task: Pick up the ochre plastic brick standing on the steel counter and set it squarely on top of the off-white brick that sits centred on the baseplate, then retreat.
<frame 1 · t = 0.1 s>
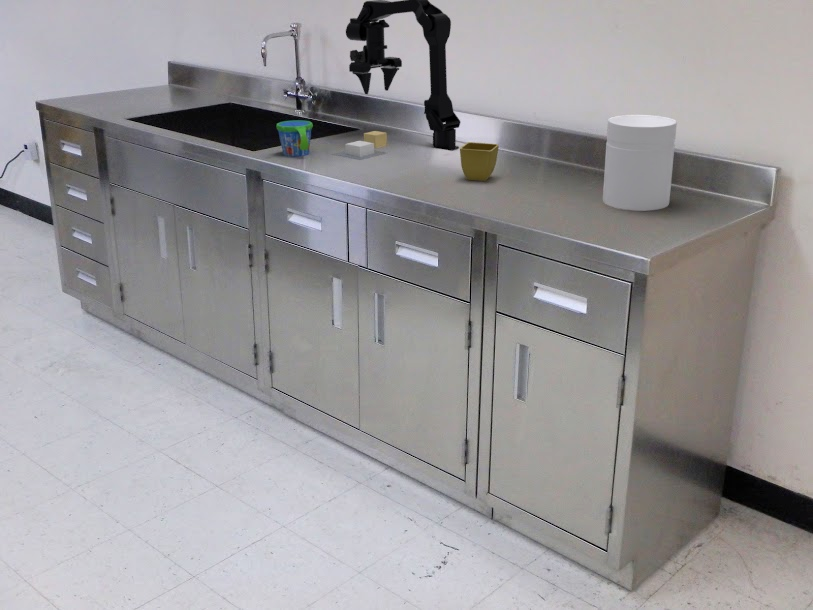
hand: (376, 92, 303), 15 cm above the table, tool pointing down, fingers open, 9 cm apart
white brick: (359, 153, 283), point 1 cm above the table, touching baseplate
flower pot: (478, 179, 256), on the table
canister: (635, 202, 233), on the table
snack cup: (296, 157, 284), on the table
ochre brick: (375, 149, 293), on the table
baseplate: (360, 156, 283), on the table
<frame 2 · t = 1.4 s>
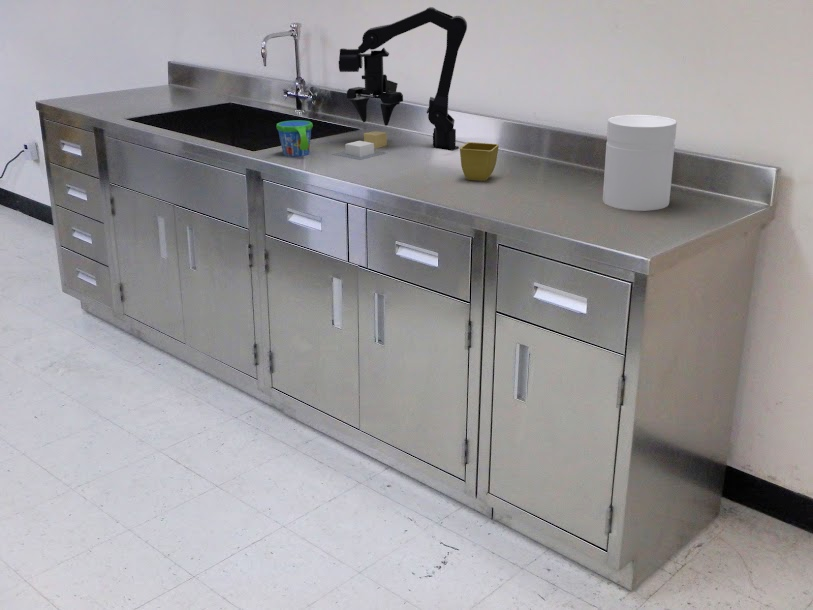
hand: (375, 123, 290), 8 cm above the table, tool pointing down, fingers open, 9 cm apart
nothing on the table moved.
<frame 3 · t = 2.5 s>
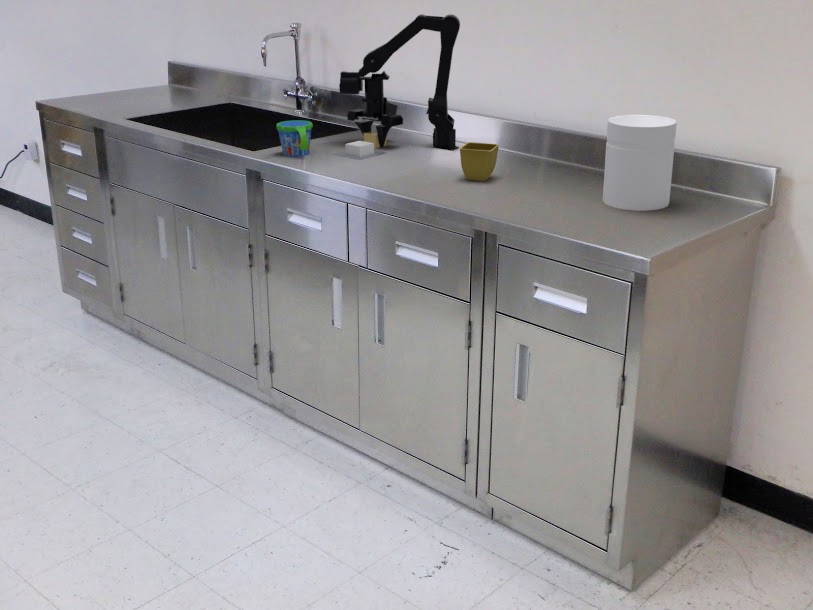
hand: (375, 145, 293), 1 cm above the table, tool pointing down, fingers closed on ochre brick, 5 cm apart
ochre brick: (375, 148, 293), on the table, touching gripper
everything else where it was.
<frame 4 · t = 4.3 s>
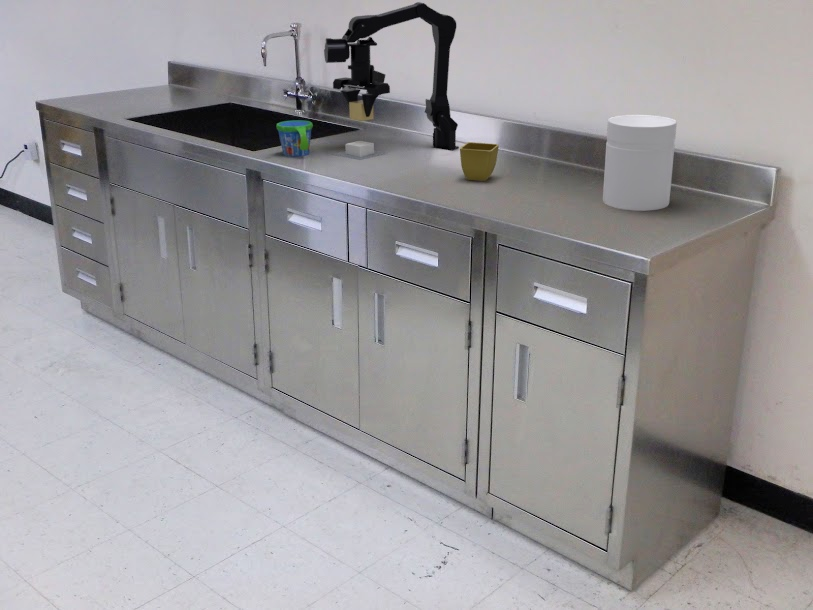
hand: (361, 115, 281), 12 cm above the table, tool pointing down, fingers closed on ochre brick, 5 cm apart
ochre brick: (361, 119, 281), point 11 cm above the table, touching gripper
everything else where it was.
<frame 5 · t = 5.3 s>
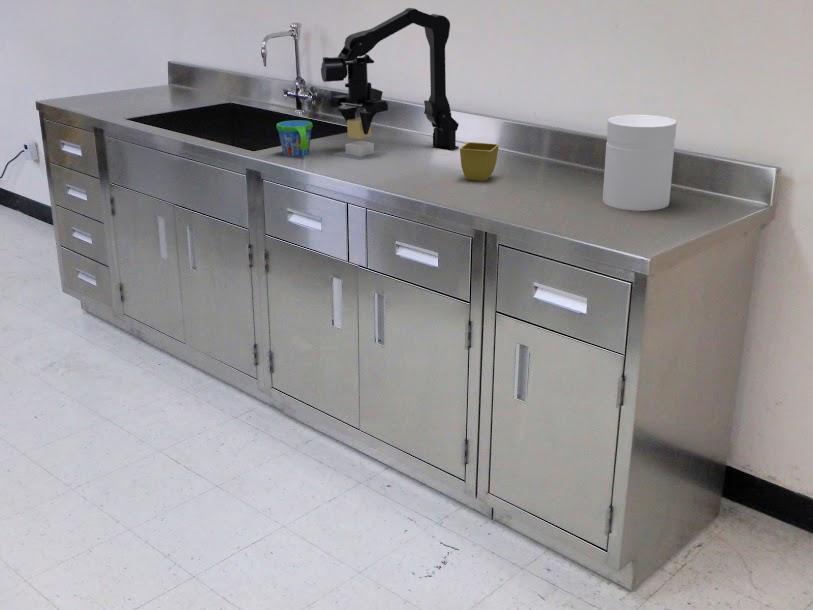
hand: (359, 133, 280), 7 cm above the table, tool pointing down, fingers closed on ochre brick, 5 cm apart
ochre brick: (359, 136, 281), point 6 cm above the table, touching gripper
everything else where it was.
when the fingers open (6 cm above the table, at t = 5.9 s): ochre brick stays where it is, resting on white brick.
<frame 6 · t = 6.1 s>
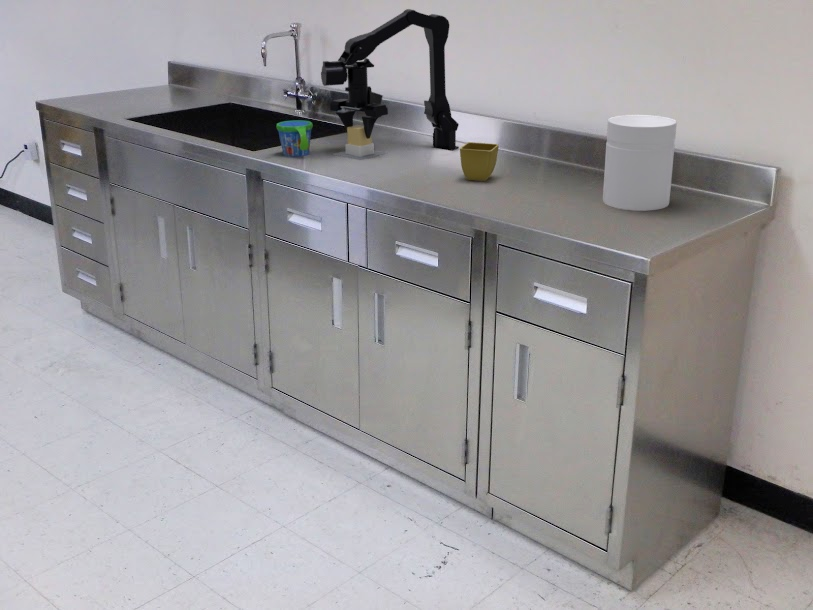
hand: (359, 136, 281), 6 cm above the table, tool pointing down, fingers open, 7 cm apart
white brick: (359, 153, 283), point 1 cm above the table, touching baseplate, ochre brick
ochre brick: (359, 143, 281), point 4 cm above the table, touching white brick
everything else where it was.
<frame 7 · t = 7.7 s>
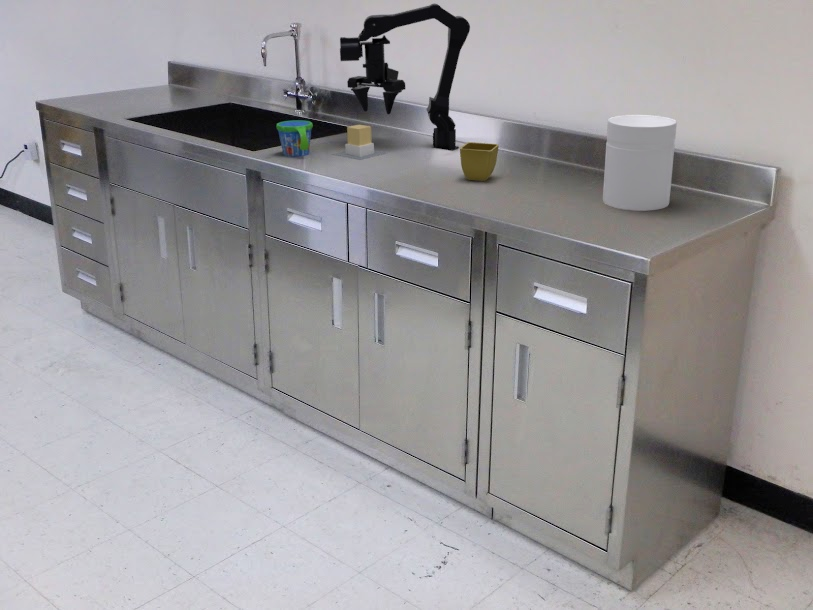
hand: (377, 112, 286), 12 cm above the table, tool pointing down, fingers open, 9 cm apart
nothing on the table moved.
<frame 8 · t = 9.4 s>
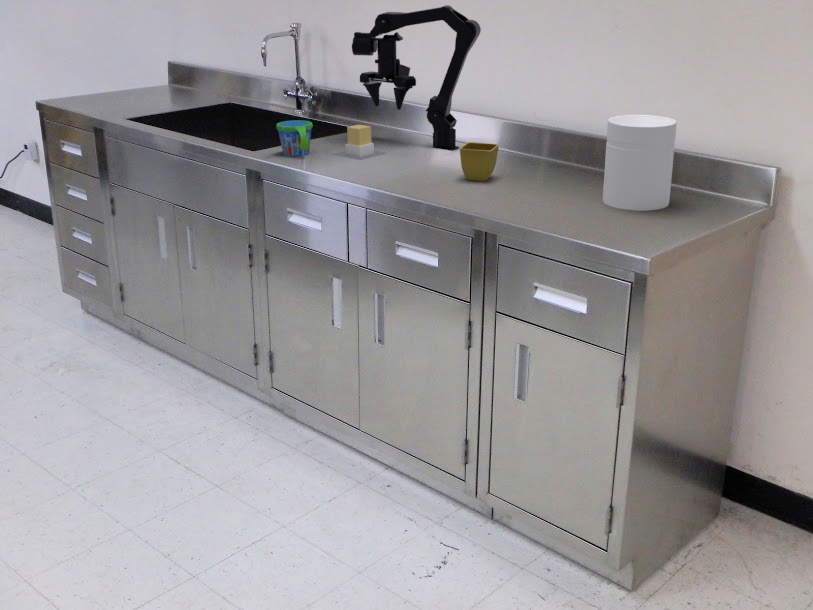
hand: (388, 107, 291), 12 cm above the table, tool pointing down, fingers open, 9 cm apart
nothing on the table moved.
at the end: ochre brick 0.0 cm off-centre on the white brick, point 3.0 cm above the white brick's base; white brick moved 0.0 cm from its start; the gripper is holding nothing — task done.
